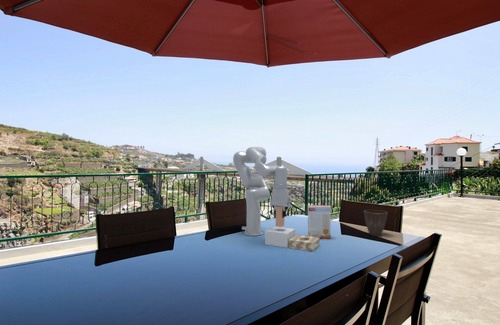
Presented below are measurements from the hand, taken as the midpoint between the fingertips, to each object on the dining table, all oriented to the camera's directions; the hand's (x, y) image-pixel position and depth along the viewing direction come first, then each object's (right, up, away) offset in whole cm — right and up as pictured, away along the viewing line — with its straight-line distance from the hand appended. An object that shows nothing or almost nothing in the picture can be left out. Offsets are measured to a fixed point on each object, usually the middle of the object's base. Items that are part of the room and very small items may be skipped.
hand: (280, 216), depth 176 cm
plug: (0, -6, 0) cm, 6 cm away
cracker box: (+27, -17, +14) cm, 34 cm away
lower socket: (+13, -16, -7) cm, 22 cm away
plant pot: (+68, -17, +23) cm, 73 cm away
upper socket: (0, -16, 0) cm, 16 cm away
